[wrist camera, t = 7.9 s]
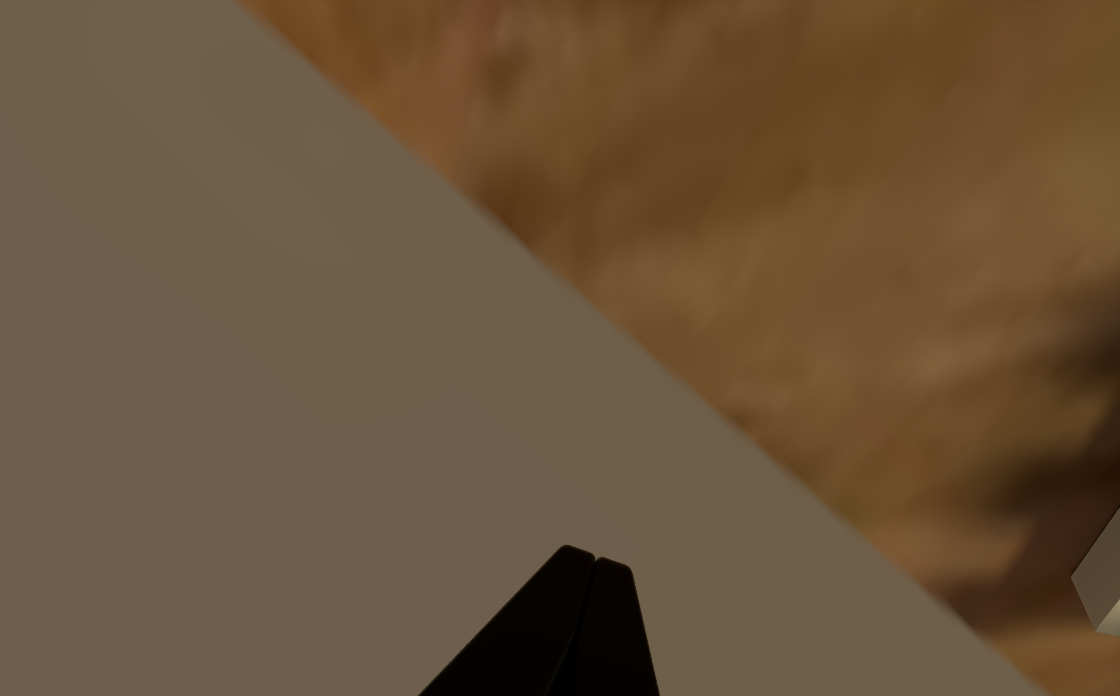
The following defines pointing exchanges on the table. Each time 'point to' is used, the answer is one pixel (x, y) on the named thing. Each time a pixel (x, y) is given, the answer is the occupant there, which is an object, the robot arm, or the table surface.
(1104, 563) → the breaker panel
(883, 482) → the table surface
